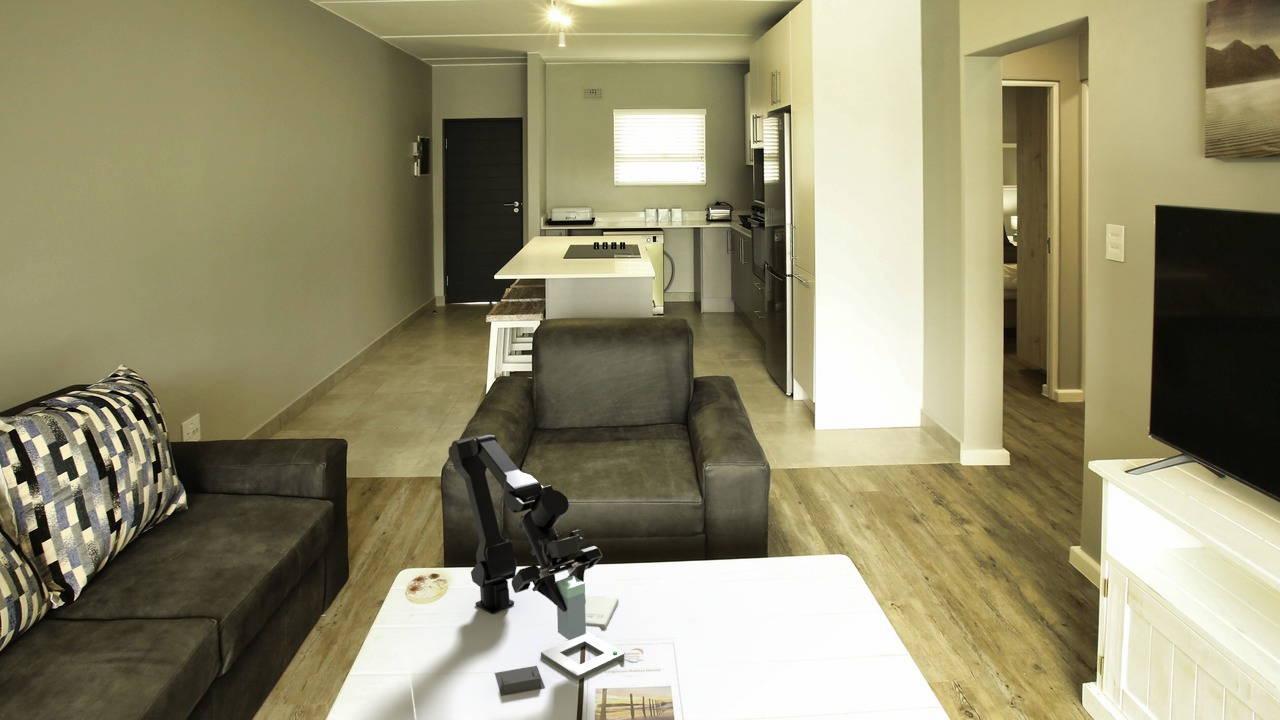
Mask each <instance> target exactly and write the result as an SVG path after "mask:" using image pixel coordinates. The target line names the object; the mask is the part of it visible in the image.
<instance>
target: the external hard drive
mask: <svg viewBox="0 0 1280 720" xmlns="http://www.w3.org/2000/svg"><path fill="white" fill-rule="evenodd" d="M585 600H586V603H585V619H586V626H597V627H599V628H600V629H607V626H608V624H609V623H610V620H611V618H612V616H613V614H614V613H615V610H616V608H617V606H618V604H619V598H618V597H614V596H613V597H612V596H611V597H610V596H602V595H601V596H600V595H588V594H585Z"/></svg>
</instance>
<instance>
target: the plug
mask: <svg viewBox="0 0 1280 720" xmlns="http://www.w3.org/2000/svg"><path fill="white" fill-rule="evenodd" d="M567 577H568V576H567ZM567 577H565V578H563V579H560V580H555V581H556V585H557V587H558V589H559V591H560V593H561V595H562V597H563V600H564V602H565V605H566V607H567V611H566V612H563V611H562V610H561V609H560V608H559V607H557V606H556V611H557V612H556V616H557V617H556V618H557V634H560V635H561V636H562V637H564V638H565V639H567V640H571V639H574V638H577V637H579V636H582V635H584V634H586V632H587V631H586V630H587V625H586V619H585V595H586V583H585V581H584V582H583V581H581V580H579V579H578V578H576V577H575V576H571V577H568V578H567Z"/></svg>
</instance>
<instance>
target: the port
mask: <svg viewBox="0 0 1280 720" xmlns="http://www.w3.org/2000/svg"><path fill="white" fill-rule="evenodd" d="M583 647H586V648H588V649H590V650H591V651H593V652H595V653H596V654H599V655H598V656H596V657H593V658H592V659H590V660H587V661H585V662H582V663H581V664H579V663H577V662H576V661H574V660H573V659H571V658H569V657H568V656H567V655H568V654H569V653H572V652H574V651H576V650H578V649H581V648H583ZM540 658H542V659H544V660H545V661H547V662H548V663H550V664H551V665H552V666H555V667H557V668H558V669H559V670H561V671H562V672H564V673H565V674H567V675H568V676H570V677H571V678H573V679H574V680H576V681H580V680H581V679H584V678H586V677H589V676H590V675H592V674H594V673H596V672H598V671H601V670H602V669H605V668H607V667H609V666H611V665H613V664H615V663H617V662H619V663H621V662H623V661H625V653H624V652H623V651H621V650H619V649H618V648H616V647H614V646H613V645H610V643H607V642H606V641H603V640H602V639H600V638H599V637H597V636H595V635H594V634H592V633H590V632H588V631H586V634H584V635H582V636H579V637H577V638H574V639H571V640H568V639H567V640H565V641H563V642H561V643H558V644H556V645H553V646H551V647H549V648H547V649H545V650H542V651H540Z"/></svg>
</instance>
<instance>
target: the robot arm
mask: <svg viewBox="0 0 1280 720" xmlns="http://www.w3.org/2000/svg"><path fill="white" fill-rule="evenodd" d="M503 449H504V448H502V447H501V446H500V444H499V443H498V439H497V437H496V436H495V435H494V434H489V433H488V434H485V435H481V436H479V435H475V436H470V437H467V438H460V439H457V440H453V441H452V443H451V446H450V447H448V452H447V453H448V457H449V460H450V461H451V462H452V465H453V468H454V470H455V471H456V472H457V473H458V474H459V475H460V476H461V477H462V478H463V480H464V482H465V487H466V492H467V494H468V498H469V503H470V507H471V512H472V514H473V520H474V523H475V527H476V531H477V532H476V533H477V536H478V539H479V543H478V547H477V549H476V554H475V557H476V558H475V559H476V564H475V565H474V567H473V568H472V569H471V572H470V576H471V581H472V582H473V583H474V584H475V585H477V586H478V587H479V589H480V590H479V591H480V600H478V601H476V602H475V606H476V607H478V606H479V607H478V608H481V609H482V608H483V609H482V610H485V611H487V612H488V613H491V614H495V613H497V612H500V611H502V610H503V609H506V608H509V607H511V606H512V604H513V605H514V604H515V601H514V600H512V599H511V598H510V589H509V583H508V580H510V579H511V587H512V589H513V592H514V593H515V594H518V593H521V592H523V591H524V592H525V591H527V590H529V588H530V586H531V583H532V584H533V586H534V587H532V591H533V592H538V593H539V594H541V595H543V596H544V597H545V598H547V600H549V601H551V603H553V604H554V605H555V606H556V608H557V607H559V608H560V609H561V610H562V611H563V612H566V611H567V607H566V605H565V602H564V600H563V597H562V595H561V593H560V591H559V589H558V587H557V585H556V581H557V580H556V574H559V573H562V572H565V571H567V572H568V574H569V575H567V577H566V578H568V577H571V576H575V577H576V578H578V579H579V580H581V581H583V582H584V583H585V572H586V571H587V570H589V569H591V568H593V567H594V566H595V565H596V564H597V563H598V562H599V561H600V560H601V559H602V557H604V556H603V553H602V552H601V549H600V548H599V547H597V546H595V545H593V546H590V547H586V548H582V549H580V547H581V546H585V545H586V540H585V537H584V534H583V532H582V531H581V529H576V530H572V531H571V532H568V533H569V534H568V535H569V536H568V537H566V538H564V536H563V535H562V533H561V532H559V533H558V532H557V530H556V529H555V526H556V525H557V524H558V522H559V521H560V520H561V519H562V518H563V516H564V515H565V514H566V513H567V511H568V510H569V506H570V503H569V499H568V497H567V496H565V494H564V493H563V492H561V491H560V490H555V489H554V488H553V486H552V485H551V484H549V485H546V486H543V485H541V484H540V482H539V481H538V480H537V479H536V478H534V477H533V475H531V474H529V473H525V472H523V471H521V470H520V469H519V468H518V467H517V465H516V464H515V463H514V462H513V460H512V459H511V458H510V457H509V456H508V455H507V453H506V452H505V451H504V450H503ZM487 469H488V470H489V472H490V473H491V474H492V476H493V477H494V479H496V481H497V482H498V484H499V485H500V487H501V488H502V489H503V491H502V492H503V493H502V500H503V501H504V502H505V505H506V507H507V508H508V509H509V510H510V511H511V512H512V513H514V514H517V513H522V512H525V511H527V512H526V513H525V514H522V515H520V520H519V523H518V529H519V530H522V529H523V530H524V533H525V534H526V537H527V539H528V542H529V543H530V544H529V545H530V546H531V549H530V554H531V556H535V557H536V560H537V563H538V564H539V566H540V567H539V566H537V565H536V564H533V565H530V566H527V567H524V568H520V569H519V570H518V571H517V567H518V559H517V556H516V555H515V553H514V547H513V543H512V542H511V541H509V540H508V541H507V540H506V539H505V538H504V537H503V536H502V534H501V531H500V527H499V526H500V525H499V523H498V519H497V518H498V517H497V515H496V510H495V506H494V503H493V498H492V495H491V491H490V490H491V489H490V487H489V483H488V482H489V481H488V479H487ZM574 554H576V555H575V556H574V557H572V556H573V555H574ZM571 557H572V558H571ZM516 571H517V572H516ZM585 603H586V600H585ZM510 605H511V606H510Z"/></svg>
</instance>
